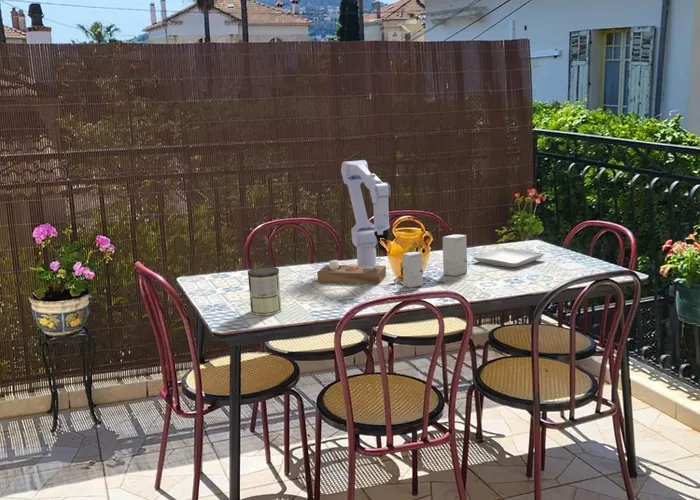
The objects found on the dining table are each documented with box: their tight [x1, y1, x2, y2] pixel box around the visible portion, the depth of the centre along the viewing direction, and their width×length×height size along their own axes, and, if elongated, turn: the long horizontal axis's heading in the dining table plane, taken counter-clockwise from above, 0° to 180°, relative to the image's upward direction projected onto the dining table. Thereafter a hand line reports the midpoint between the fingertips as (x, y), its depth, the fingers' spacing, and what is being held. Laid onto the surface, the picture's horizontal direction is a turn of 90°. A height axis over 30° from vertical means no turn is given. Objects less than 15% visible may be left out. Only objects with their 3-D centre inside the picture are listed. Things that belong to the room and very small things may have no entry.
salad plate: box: [472, 247, 545, 268], centre depth 293 cm, size 21×21×3 cm
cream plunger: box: [328, 259, 340, 270], centre depth 278 cm, size 4×4×4 cm
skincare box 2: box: [442, 233, 468, 277], centre depth 276 cm, size 8×6×15 cm
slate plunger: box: [365, 267, 374, 271], centre depth 274 cm, size 4×4×4 cm
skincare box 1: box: [402, 251, 424, 289], centre depth 262 cm, size 6×4×12 cm
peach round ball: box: [346, 264, 356, 270], centre depth 276 cm, size 4×4×4 cm
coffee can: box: [247, 266, 282, 316], centre depth 239 cm, size 10×10×14 cm
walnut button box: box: [316, 264, 387, 285], centre depth 276 cm, size 12×24×4 cm, turn 75°
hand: (382, 249), depth 277 cm, fingers closed
